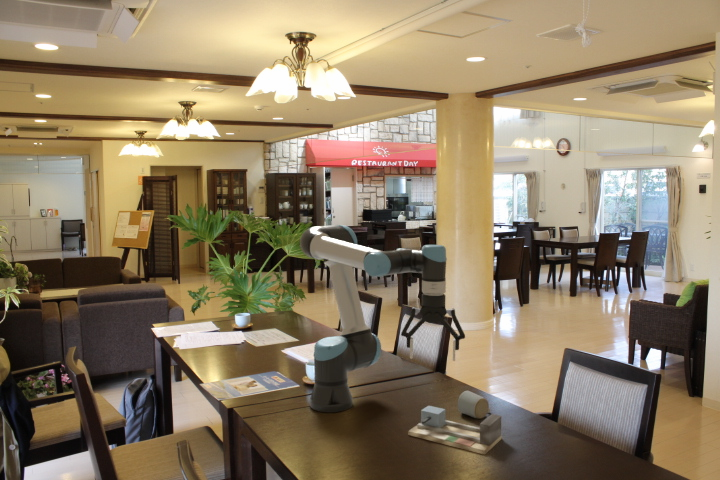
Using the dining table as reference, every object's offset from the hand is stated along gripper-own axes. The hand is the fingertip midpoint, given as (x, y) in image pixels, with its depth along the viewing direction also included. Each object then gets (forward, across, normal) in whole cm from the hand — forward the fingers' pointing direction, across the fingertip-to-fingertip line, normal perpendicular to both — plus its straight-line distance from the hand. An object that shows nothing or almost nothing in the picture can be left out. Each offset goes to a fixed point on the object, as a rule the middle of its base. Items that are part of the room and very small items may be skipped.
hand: (432, 358), depth 186 cm
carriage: (+20, 0, -8) cm, 21 cm away
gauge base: (+21, +7, -11) cm, 25 cm away
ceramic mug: (+21, +14, +8) cm, 27 cm away
